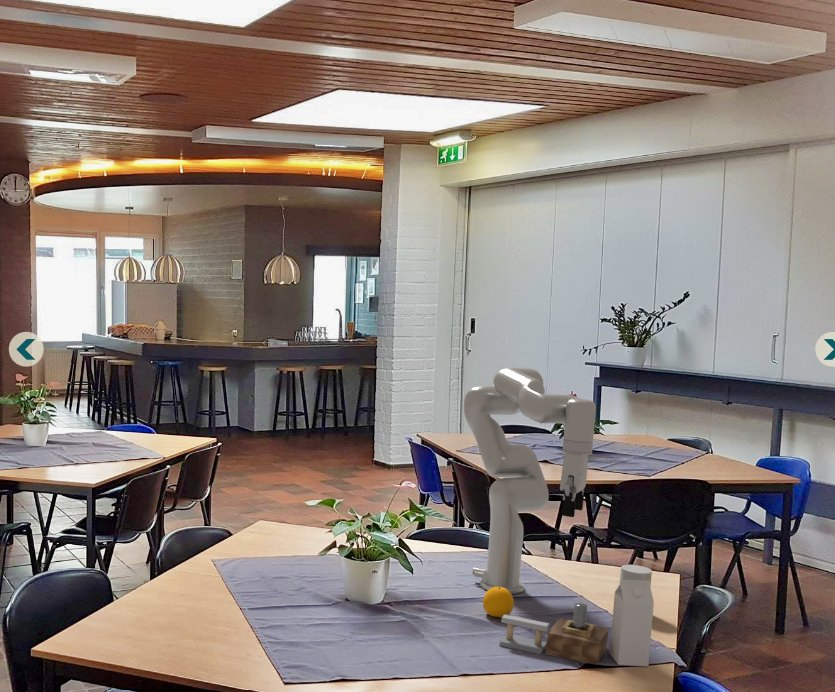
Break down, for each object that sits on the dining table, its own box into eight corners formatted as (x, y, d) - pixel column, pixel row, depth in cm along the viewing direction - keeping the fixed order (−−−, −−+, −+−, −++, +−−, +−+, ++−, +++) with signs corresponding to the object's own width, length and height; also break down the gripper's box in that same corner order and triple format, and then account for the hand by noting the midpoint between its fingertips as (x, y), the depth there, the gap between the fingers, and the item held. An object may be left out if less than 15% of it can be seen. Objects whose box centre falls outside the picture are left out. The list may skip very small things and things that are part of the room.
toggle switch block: (545, 653, 220) (547, 628, 220) (557, 638, 231) (559, 614, 231) (597, 664, 216) (599, 639, 216) (606, 648, 227) (609, 623, 227)
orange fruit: (515, 613, 248) (518, 585, 248) (508, 622, 240) (511, 593, 240) (486, 608, 251) (488, 580, 250) (478, 616, 243) (480, 588, 243)
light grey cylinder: (648, 619, 251) (652, 575, 251) (617, 615, 253) (621, 571, 253) (647, 610, 259) (651, 567, 259) (617, 606, 261) (620, 563, 260)
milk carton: (609, 654, 223) (616, 575, 222) (638, 655, 224) (645, 576, 223) (618, 665, 216) (625, 584, 215) (648, 667, 217) (655, 585, 216)
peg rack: (497, 645, 224) (499, 619, 223) (504, 637, 229) (506, 612, 229) (542, 654, 220) (544, 628, 219) (549, 646, 225) (551, 621, 225)
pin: (569, 647, 223) (573, 605, 223) (572, 643, 226) (576, 602, 225) (581, 650, 222) (585, 608, 221) (584, 646, 225) (588, 604, 224)
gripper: (570, 441, 252) (565, 505, 253) (555, 449, 236) (549, 516, 237) (598, 445, 250) (593, 509, 250) (585, 453, 234) (579, 521, 234)
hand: (572, 512), depth 244 cm, fingers open, 9 cm apart
